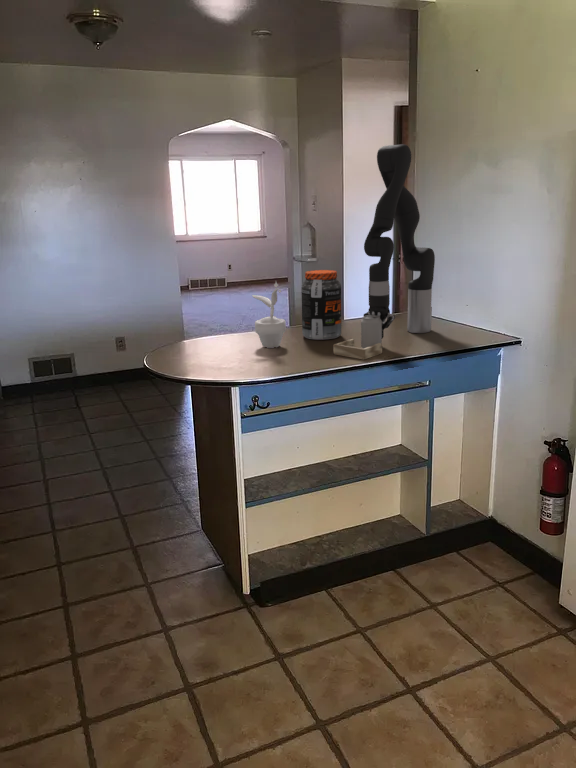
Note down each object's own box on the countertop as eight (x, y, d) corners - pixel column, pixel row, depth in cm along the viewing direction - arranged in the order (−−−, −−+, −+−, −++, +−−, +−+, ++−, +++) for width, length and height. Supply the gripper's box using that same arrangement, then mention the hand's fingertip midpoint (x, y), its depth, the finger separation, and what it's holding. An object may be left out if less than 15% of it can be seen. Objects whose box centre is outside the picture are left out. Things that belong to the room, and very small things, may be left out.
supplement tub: (331, 342, 243) (329, 274, 236) (295, 339, 251) (293, 273, 243) (348, 333, 256) (347, 269, 249) (313, 330, 264) (312, 268, 256)
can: (380, 351, 227) (380, 318, 224) (359, 350, 229) (359, 318, 225) (382, 346, 234) (382, 314, 231) (362, 345, 236) (362, 314, 232)
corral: (351, 347, 234) (351, 338, 233) (381, 353, 225) (382, 343, 224) (333, 354, 226) (333, 344, 225) (364, 359, 217) (364, 349, 216)
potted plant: (291, 343, 243) (289, 278, 236) (278, 351, 233) (275, 283, 226) (262, 341, 248) (259, 277, 241) (248, 348, 238) (244, 282, 231)
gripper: (400, 292, 227) (400, 339, 232) (370, 290, 236) (370, 335, 241) (388, 296, 222) (388, 344, 227) (358, 293, 230) (358, 339, 236)
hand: (379, 339), depth 234 cm, fingers closed
